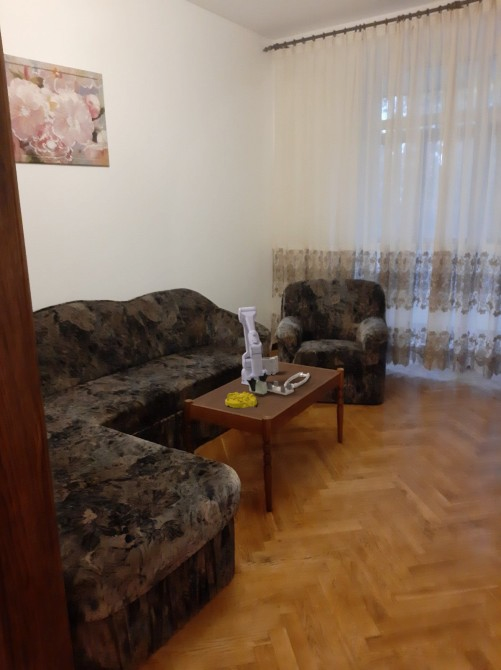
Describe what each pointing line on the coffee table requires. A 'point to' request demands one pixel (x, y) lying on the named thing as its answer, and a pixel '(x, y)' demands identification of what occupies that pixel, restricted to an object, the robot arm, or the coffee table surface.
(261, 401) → the coffee table surface
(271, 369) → the hinge
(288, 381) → the door handle
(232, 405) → the yellow textured disc
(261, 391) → the long rectangular block
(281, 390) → the plate with corner feet
